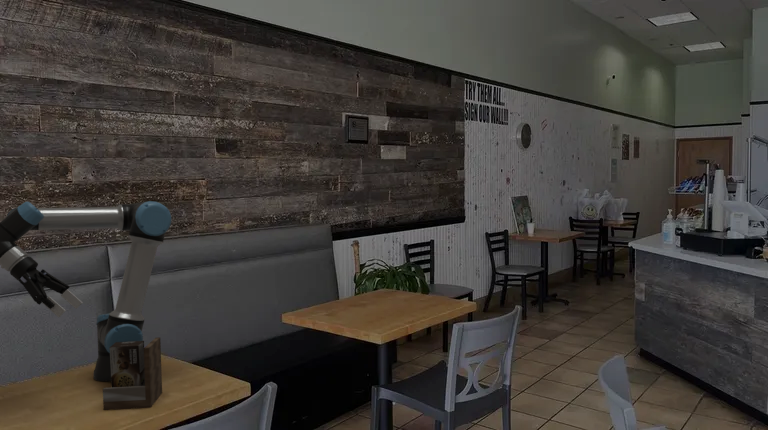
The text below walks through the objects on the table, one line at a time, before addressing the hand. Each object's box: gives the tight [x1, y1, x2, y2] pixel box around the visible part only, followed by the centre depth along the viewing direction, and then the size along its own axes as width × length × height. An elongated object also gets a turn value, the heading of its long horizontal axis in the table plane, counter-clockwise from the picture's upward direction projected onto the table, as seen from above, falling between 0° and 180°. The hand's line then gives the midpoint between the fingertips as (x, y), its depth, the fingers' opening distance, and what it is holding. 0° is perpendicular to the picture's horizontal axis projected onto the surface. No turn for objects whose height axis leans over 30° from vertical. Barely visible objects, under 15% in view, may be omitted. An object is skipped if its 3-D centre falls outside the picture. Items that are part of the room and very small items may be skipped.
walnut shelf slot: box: [102, 337, 163, 411], centre depth 194 cm, size 14×14×18 cm
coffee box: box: [110, 340, 145, 387], centre depth 193 cm, size 9×6×16 cm
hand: (71, 309), depth 193 cm, fingers open, 13 cm apart
